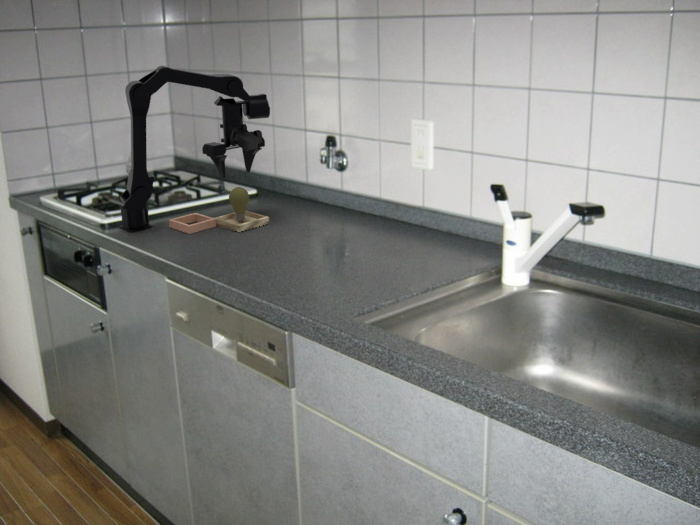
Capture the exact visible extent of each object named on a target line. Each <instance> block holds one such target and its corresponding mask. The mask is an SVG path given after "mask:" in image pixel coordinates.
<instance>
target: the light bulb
mask: <svg viewBox="0 0 700 525" xmlns="http://www.w3.org/2000/svg"><path fill="white" fill-rule="evenodd" d="M228 201H229V202H230V205H231V206H232V209H233V211H234V212H235V213H236V220H237V221H239V222H243V221H244V220H245V211H247V206H248V204H249V202H250V194H249V192H248V191H247V189H246V188H244V187H241V186H236V187H234V188H233V189H231V190H230V192H229V194H228ZM234 212H233V213H234Z"/></svg>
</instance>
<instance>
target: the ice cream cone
mask: <svg viewBox="0 0 700 525" xmlns="http://www.w3.org/2000/svg"><path fill="white" fill-rule="evenodd" d="M127 159H128V161H127V162H126V164H125V170H126V171H125V172H126V173H127V176H128V177H129V173H130V170H131V152H130V155H129V156H128V158H127Z"/></svg>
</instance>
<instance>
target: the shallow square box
mask: <svg viewBox="0 0 700 525" xmlns="http://www.w3.org/2000/svg"><path fill="white" fill-rule="evenodd" d="M215 218H216V217H212V216H211V217H210V216H209V215H208V216H207V215H204V214H201V213H198V212H194V213H190V214H186V215H182V216H179V217H175V218H171V219H168V225H169V228H170V229H173V230H176V231H180V232H183V233H185V234H188V235H191V234H194V233H197V232H202V231H205V230H208V229H211V228H215V227H217V226H216V219H215ZM195 222H196V223H195ZM190 223H192V224H190Z"/></svg>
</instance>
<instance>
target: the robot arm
mask: <svg viewBox="0 0 700 525" xmlns="http://www.w3.org/2000/svg"><path fill="white" fill-rule="evenodd" d="M167 83H173V84H179V85H184V86H190V87H195V88H201V89H208V90H211V91H214V92H216V93H219V94H221V95H224V96H227V97H229V98H224V97H222V96H221V95H219V96H218V98H217V99H216V100H215V101H214V102H213V104H214V105H215V106H216V107H217V106H218V107H221V115H222V116H221V117H222V118H221V119H222V123H220V124H219V127H220V129H222V131H223V134H222V135H223V138H220V142H221V143H220V142H215V141H213V142H207V143H203V145H202V150H201V151H202V155H206V156H207V157H209V158H210V159H211V162H213V164H214V165H215V167H216V170H217V172H218V173H219V175H220V177H221V178H222V179H225V178H226V161H225V160H226V159H227V157H228V155H226V153H227V151H230V150H235V149H239V148H241V150H242V156H243V161H244V167H245V171H246V172H247V173H250V172H251V169H252V166H253V163H254V159H255V157H256V154H258V153H259V152H260V150H261V151H262V148H263V147H266V140H265V139H264V137H263V132H262V131H261V130H260V129H256V130H253V131H251V130H250V131H249V130H248V126H247V124H246V123H244V117H247V119H248V120H258V119H269V118H270V113H271V107H270V106H269V101H268V96H267V94H265V93H258V94H249V93H248V92H247V91H246V90H245V88H244V83H243V81H242V78H240V77H239V76H235V75H233V74H230V73H221V74H220V73H217V74H216V73H215V74H214V73H213V74H206V73H201V72H196V71H191V70H185V69H179V68H173V67H168V66H166V65H159V66H158V67H156V68H155V69H154V70H153V71H151V72H149V73H148V74H146V75H144V76H142V77H141V78H139V79H138V80H131V81H130V82H129V83H128V84H126V86H125V97H126V103H127V107H128V110H129V114H130V153H131V170H130V173H129V176H128V178H127V184H126V189H125V190H124V191H123V192H122V194H120V196H119V199H120V201H121V203H122V206H120V213H121V214H120V215H121V222H122V223H121V224H120V225H119V229H122V230H126V231H128V232H131V233H133V232H137V231H140V230H145V229H149V228H152V224H150V217H149V216H150V215H149V209H148V208H147V204H146V203H147V202H148V201H149V200H150V199H151V198H152V193H154V192H155V189H154V179H155V177H154V175H153V174H152V173H151V172H148V168H147V165H148V163H147V161H148V160H147V116H148V113H149V110H150V105H151V99H152V96H153V95H154V94H155V93H157V92H158V91H159V90H161V88H162V87H164V85H165V84H167ZM235 98H237V99H240V100H235Z"/></svg>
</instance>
